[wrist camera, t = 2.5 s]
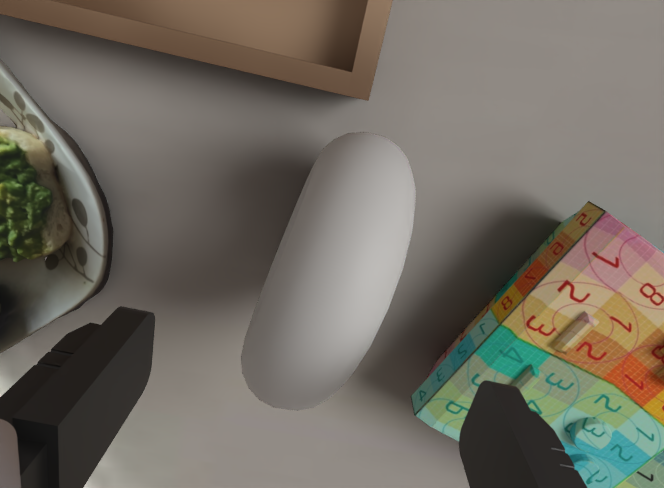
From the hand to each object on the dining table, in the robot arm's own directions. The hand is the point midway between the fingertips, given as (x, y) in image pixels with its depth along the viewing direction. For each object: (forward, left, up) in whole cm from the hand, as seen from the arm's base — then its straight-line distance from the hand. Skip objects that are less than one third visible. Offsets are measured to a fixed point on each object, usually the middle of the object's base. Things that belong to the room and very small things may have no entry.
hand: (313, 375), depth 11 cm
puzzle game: (+5, +17, -11) cm, 21 cm away
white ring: (0, 0, -11) cm, 11 cm away
